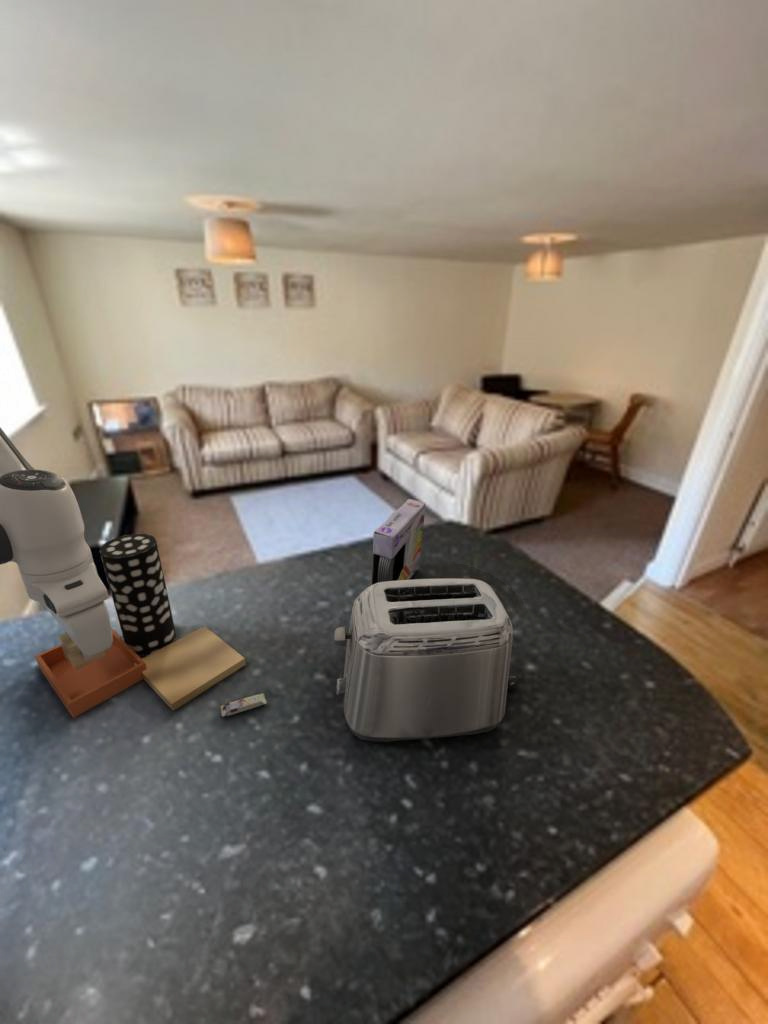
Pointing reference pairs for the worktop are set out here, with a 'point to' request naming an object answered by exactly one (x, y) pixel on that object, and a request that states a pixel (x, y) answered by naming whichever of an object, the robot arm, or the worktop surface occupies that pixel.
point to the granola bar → (243, 704)
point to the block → (75, 652)
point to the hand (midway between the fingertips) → (82, 647)
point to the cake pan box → (398, 543)
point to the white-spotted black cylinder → (139, 592)
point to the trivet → (190, 666)
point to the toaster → (425, 660)
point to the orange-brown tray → (91, 675)
